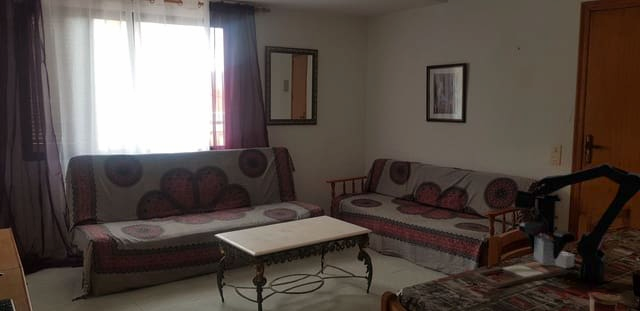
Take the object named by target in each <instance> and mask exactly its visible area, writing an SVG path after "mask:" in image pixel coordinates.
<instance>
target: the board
mask: <svg viewBox="0 0 640 311" xmlns="http://www.w3.org/2000/svg"><path fill="white" fill-rule="evenodd" d="M568 272H569V271H568V270H567V269H566V268H563V267H560V266H557V265H543V264H541V263H540V262H538V261H537V260H535V261H528V262H524V263H518V264H513V265H507V266H506V265H505V266H501V267H500V266H499V267H494V268H487V269H483V270H476V271H472V272H470V277H473V278H475V279H476V280H479V281H482V282H483V283H486V284H488V285H490V284H491V285H490V286H492V285H493V287H494V288H497V289H499V288H503V287H508V286H513V285H517V284H522V283H523V284H524V283H527V282H531V281H537V280H541V279H546V278H547V279H548V278H552V277H556V276H561V275H566V274H568ZM497 273H504V274H506V275H509V276H512V277H514V278H512V279H511V278H510V279H505V280H500V281H496V280H494V279H492V278H490V277H487V275H488V276H489V275H493V274H497Z"/></svg>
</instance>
